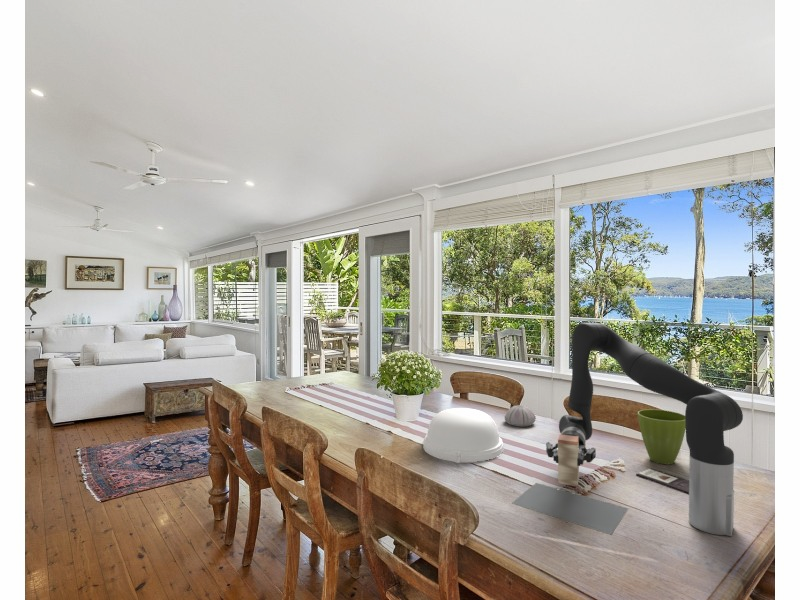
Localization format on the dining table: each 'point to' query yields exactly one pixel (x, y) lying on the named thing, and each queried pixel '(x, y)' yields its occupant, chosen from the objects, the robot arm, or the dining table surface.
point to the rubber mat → (572, 507)
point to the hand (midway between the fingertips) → (567, 460)
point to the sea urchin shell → (520, 416)
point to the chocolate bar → (666, 479)
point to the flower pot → (662, 434)
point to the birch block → (568, 459)
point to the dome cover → (463, 436)
